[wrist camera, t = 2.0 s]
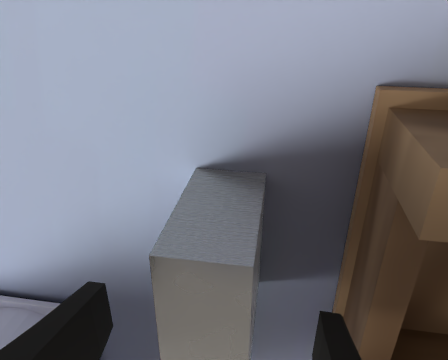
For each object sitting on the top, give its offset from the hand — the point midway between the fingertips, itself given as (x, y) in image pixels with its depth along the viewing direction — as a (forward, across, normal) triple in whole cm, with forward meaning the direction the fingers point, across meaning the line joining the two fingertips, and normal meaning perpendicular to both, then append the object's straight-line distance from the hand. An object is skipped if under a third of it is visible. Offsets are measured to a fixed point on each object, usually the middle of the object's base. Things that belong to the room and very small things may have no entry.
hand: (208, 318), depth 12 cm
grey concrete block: (+5, 0, 0) cm, 5 cm away
